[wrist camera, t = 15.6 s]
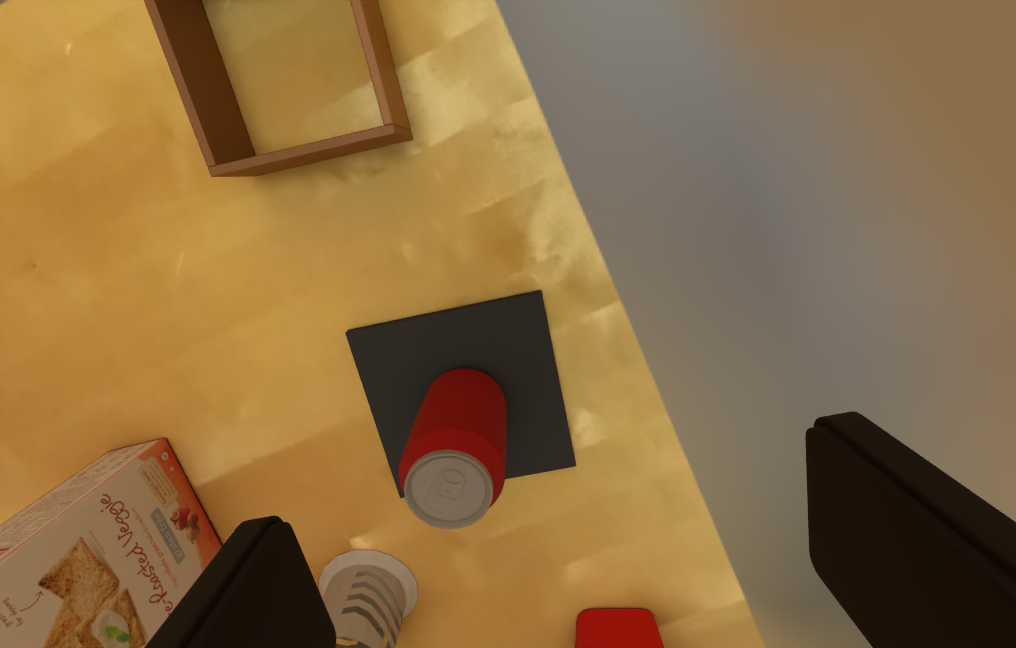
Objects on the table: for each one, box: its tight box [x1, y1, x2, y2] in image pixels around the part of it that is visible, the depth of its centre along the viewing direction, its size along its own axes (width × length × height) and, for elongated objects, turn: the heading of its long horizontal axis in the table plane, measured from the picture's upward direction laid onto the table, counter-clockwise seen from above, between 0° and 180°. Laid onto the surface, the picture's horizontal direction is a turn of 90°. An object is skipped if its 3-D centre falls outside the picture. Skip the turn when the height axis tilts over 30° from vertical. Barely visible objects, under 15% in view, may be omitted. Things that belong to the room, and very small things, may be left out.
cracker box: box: [0, 438, 222, 648], centre depth 34 cm, size 14×6×21 cm, turn 15°
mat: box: [346, 290, 576, 498], centre depth 41 cm, size 16×16×1 cm
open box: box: [144, 0, 413, 177], centre depth 31 cm, size 12×12×6 cm
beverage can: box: [399, 369, 506, 529], centre depth 34 cm, size 7×7×12 cm
